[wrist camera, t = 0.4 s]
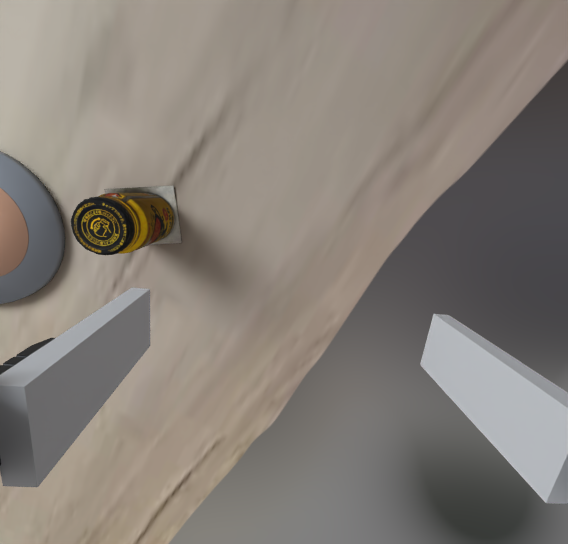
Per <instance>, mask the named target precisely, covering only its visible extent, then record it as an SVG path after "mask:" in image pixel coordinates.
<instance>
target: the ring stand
mask: <svg viewBox="0 0 568 544" xmlns="http://www.w3.org/2000/svg"><path fill="white" fill-rule="evenodd" d="M64 248H65V234H64V226H63V222H62V218H61V215H60V213H59V210H58V208H57V205H56V204H55V202H54V200H53V198H52V196H51V195H50V193H49V192H48V190H47V189H46V187H45V186H44V185H43V184H42V182H41V181H40V180H39V179H38V178H37V177H36V176H35V175H34V174H33V173H32V172H31V171H30V170H29V169H28V168H26V167H25V166H24V165H23V164H21V163H20V162H19V161H17V160H16V159H14V158H12V157H11V156H9V155H7V154H5V153H3V152H1V151H0V304H2V303H8V302H13V301H16V300H19V299H22V298H24V297H27V296H29V295H31V294H33V293H35V292H37V291H38V290H40V289H41V288H43V287H44V286H45V285H46V284H47V283H48V282H49V281H50V280H51V279H52V278H53V276H54V275H55V274H56V272H57V270H58V268H59V266H60V264H61V261H62V258H63V254H64Z"/></svg>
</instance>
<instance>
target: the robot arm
mask: <svg viewBox="0 0 568 544" xmlns="http://www.w3.org/2000/svg"><path fill="white" fill-rule="evenodd" d="M149 346H150V289H142V288H131V289H129V290H128V291H126V292H124V293H123V294H121V295H120V296H118V297H117V298H115V299H114V300H112V301H111V302H109V303H108V304H106V305H105V306H103V307H102V308H100V309H99V310H97V311H96V312H94V313H93V314H91V315H90V316H88V317H87V318H85V319H84V320H82V321H81V322H79V323H78V324H76V325H75V326H73V327H72V328H70V329H69V330H67V331H66V332H64V333H63V334H61V335H60V336H58V337H57V338H50V339H47V340H44V341H42V342H39V343H37V344H34V345H32V346H30V347H28V348H27V349H25V350H24V351H22V352H21V353H19V354H17V356H16V357H13V358H11V359H9V360H8V361H6V362H5V363H3V365H0V471H1V477H2V483H3V486H18V487H38V486H39V485H40V484H41V482H42V481H43V480H44V479H45V477H46V476H47V475H48V474H49V472H50V471H51V470H52V468H53V467H54V466H55V465H56V463H57V462H58V461H59V460H60V458H61V457H62V456H63V455H64V453H65V452H66V451H67V450H68V448H69V447H70V446H71V445H72V443H73V442H74V441H75V440H76V438H77V437H78V436H79V435H80V433H81V432H82V431H83V429H84V428H85V427H86V426H87V424H88V423H89V422H90V421H91V419H92V418H93V417H94V416H95V414H96V413H97V412H98V411H99V409H100V408H101V407H102V406H103V404H104V403H105V402H106V401H107V399H108V398H109V397H110V396H111V394H112V393H113V392H114V391H115V389H116V388H117V387H118V385H119V384H120V383H121V382H122V380H123V379H124V378H125V377H126V375H127V374H128V373H129V372H130V370H131V369H132V368H133V367H134V365H135V364H136V363H137V362H138V360H139V359H140V358H141V357H142V355H143V354H144V353H145V352H146V350H147V349H148V348H149ZM421 366H422V367H423V368H424V369H425V371H426V372H427V373H428V374H429V375H430V376H431V377H432V378H433V379H434V380H435V382H436V383H437V384H438V385H439V386H440V387H441V388H442V389H443V390H444V392H445V393H446V394H447V395H448V396H449V397H450V398H451V399H452V400H453V401H454V402H455V404H456V405H457V406H458V407H459V408H460V409H461V410H462V411H463V412H464V413H465V415H466V416H467V417H468V418H469V419H470V420H471V421H472V422H473V423H474V424H475V426H476V427H477V428H478V429H479V430H480V431H481V432H482V433H483V434H484V436H485V437H486V438H487V439H488V440H489V441H490V442H491V443H492V444H493V445H494V447H495V448H496V449H497V450H498V451H499V452H500V453H501V454H502V455H503V456H504V458H505V459H506V460H507V461H508V462H509V463H510V464H511V465H512V466H513V467H514V469H515V470H516V471H517V472H518V473H519V474H520V475H521V476H522V477H523V478H524V479H525V481H526V482H527V483H528V484H529V485H530V486H531V487H532V488H533V489H534V491H535V492H536V493H537V494H538V495H539V496H540V497H541V498H542V499H543V500H544V501H545V502H546V503H561V504H568V393H567V392H566V391H564V390H563V389H561V388H560V387H558V386H557V385H555V384H554V383H552V382H550V381H549V380H547V379H546V378H544V377H543V376H541V375H540V374H538V373H537V372H535V371H534V370H532V369H530V368H529V367H527V366H526V365H524V364H523V363H521V362H520V361H518V360H517V359H515V358H514V357H512V356H511V355H509V354H508V353H506V352H504V351H503V350H501V349H500V348H498V347H496V346H495V345H494V344H492V343H491V342H489V341H488V340H486V339H485V338H483V337H481V336H480V335H478V334H477V333H475V332H474V331H472V330H471V329H469V328H468V327H466V326H465V325H463V324H461V323H460V322H458V321H457V320H455V319H454V318H452V317H451V316H449V315H440V314H434V315H433V318H432V322H431V326H430V330H429V334H428V337H427V342H426V345H425V350H424V353H423V357H422V361H421Z"/></svg>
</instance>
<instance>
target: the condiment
mask: <svg viewBox="0 0 568 544" xmlns="http://www.w3.org/2000/svg"><path fill="white" fill-rule="evenodd" d="M104 190H105V194H103V195H100V196H99V197H94V198H93V197H91V198H89V199H85V200H84V201H82V202H81V203H80V204H78V206H77V207H76V209H75V211H74V213H73V216H72V218H71V226H72V230H73V233H74V236H75V237H76V239H77V241H78V242H79V243H80V244H81V245H82V246H83V247H84V248H85V249H87V250H89V251H91V252H94V253H96V254H100V255H113V254H117V253H129V252H132V251H134V250H137V249H140V248H142V247H145V246H147V245H153V244H170V243H182V241H181V233H180V226H179V219H178V213H177V206H176V200H175V194H174V187H173V186H159V187H138V188H120V189H104Z"/></svg>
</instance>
